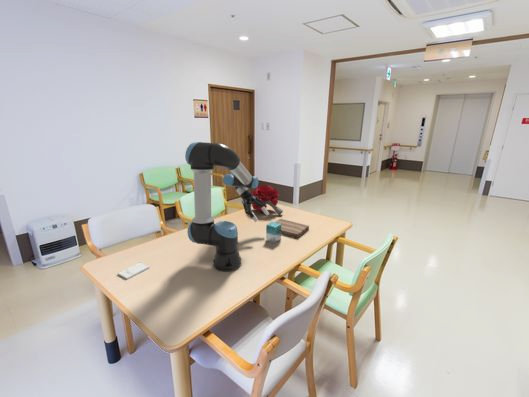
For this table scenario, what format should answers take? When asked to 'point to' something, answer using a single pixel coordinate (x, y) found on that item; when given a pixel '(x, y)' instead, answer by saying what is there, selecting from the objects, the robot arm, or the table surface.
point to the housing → (273, 232)
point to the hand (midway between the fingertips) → (262, 217)
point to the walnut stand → (292, 228)
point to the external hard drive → (133, 270)
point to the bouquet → (267, 198)
